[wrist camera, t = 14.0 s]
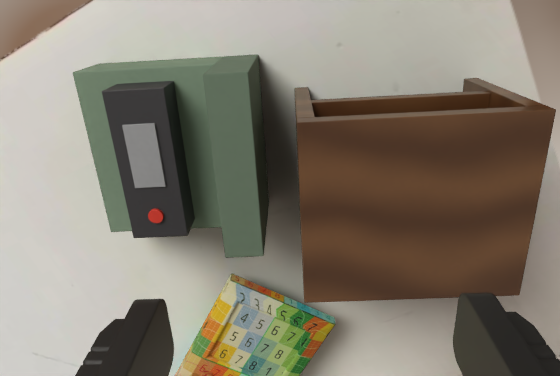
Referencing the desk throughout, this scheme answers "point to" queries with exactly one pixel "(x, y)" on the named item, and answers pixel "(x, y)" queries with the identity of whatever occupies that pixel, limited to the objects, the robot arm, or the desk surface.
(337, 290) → the shelf
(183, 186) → the remote
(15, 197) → the desk surface
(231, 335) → the puzzle game
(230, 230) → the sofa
